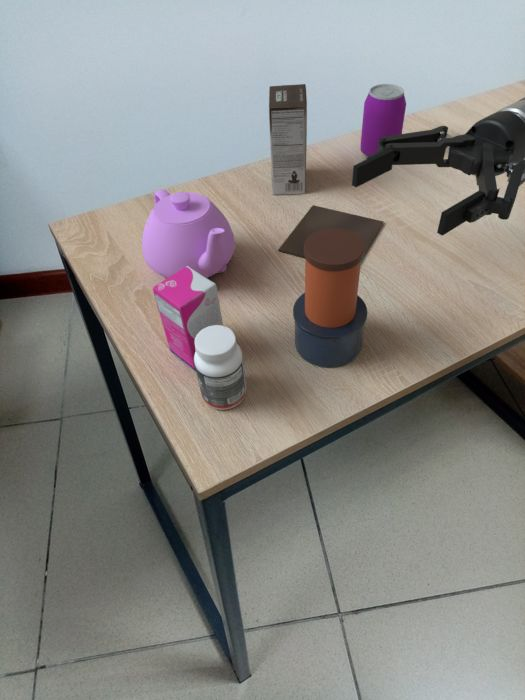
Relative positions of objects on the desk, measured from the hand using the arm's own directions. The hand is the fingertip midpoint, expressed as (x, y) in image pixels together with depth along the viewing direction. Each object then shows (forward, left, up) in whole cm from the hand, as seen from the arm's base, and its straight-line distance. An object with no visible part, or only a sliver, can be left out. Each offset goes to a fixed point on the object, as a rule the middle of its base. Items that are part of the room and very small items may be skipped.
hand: (395, 199), depth 62 cm
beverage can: (+15, -44, -18) cm, 49 cm away
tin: (+4, +9, -18) cm, 20 cm away
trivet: (+13, -14, -18) cm, 26 cm away
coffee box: (+27, -27, -18) cm, 42 cm away
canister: (+4, +9, -12) cm, 15 cm away
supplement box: (+20, +17, -18) cm, 32 cm away
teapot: (+29, +3, -18) cm, 34 cm away
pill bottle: (+13, +22, -18) cm, 31 cm away
